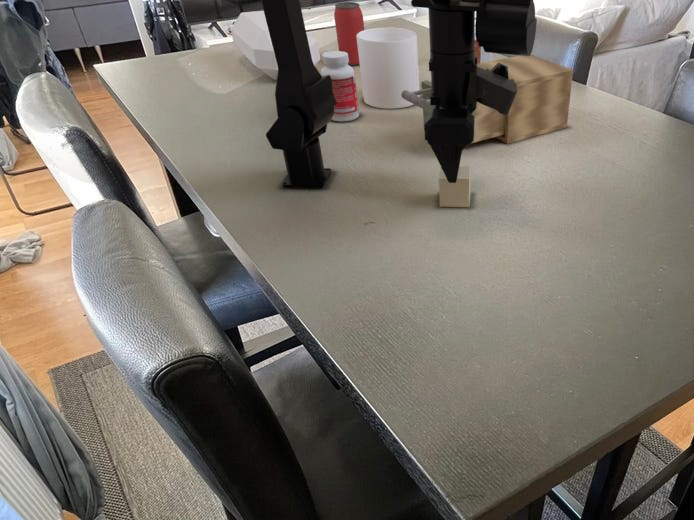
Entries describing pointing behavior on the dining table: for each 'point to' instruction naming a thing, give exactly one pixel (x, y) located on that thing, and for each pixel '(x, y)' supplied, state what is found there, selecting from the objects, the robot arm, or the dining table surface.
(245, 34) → the crystal
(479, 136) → the drawer
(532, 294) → the dining table surface
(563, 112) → the cabinet
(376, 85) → the cup
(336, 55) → the pill bottle
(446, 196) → the block
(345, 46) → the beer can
